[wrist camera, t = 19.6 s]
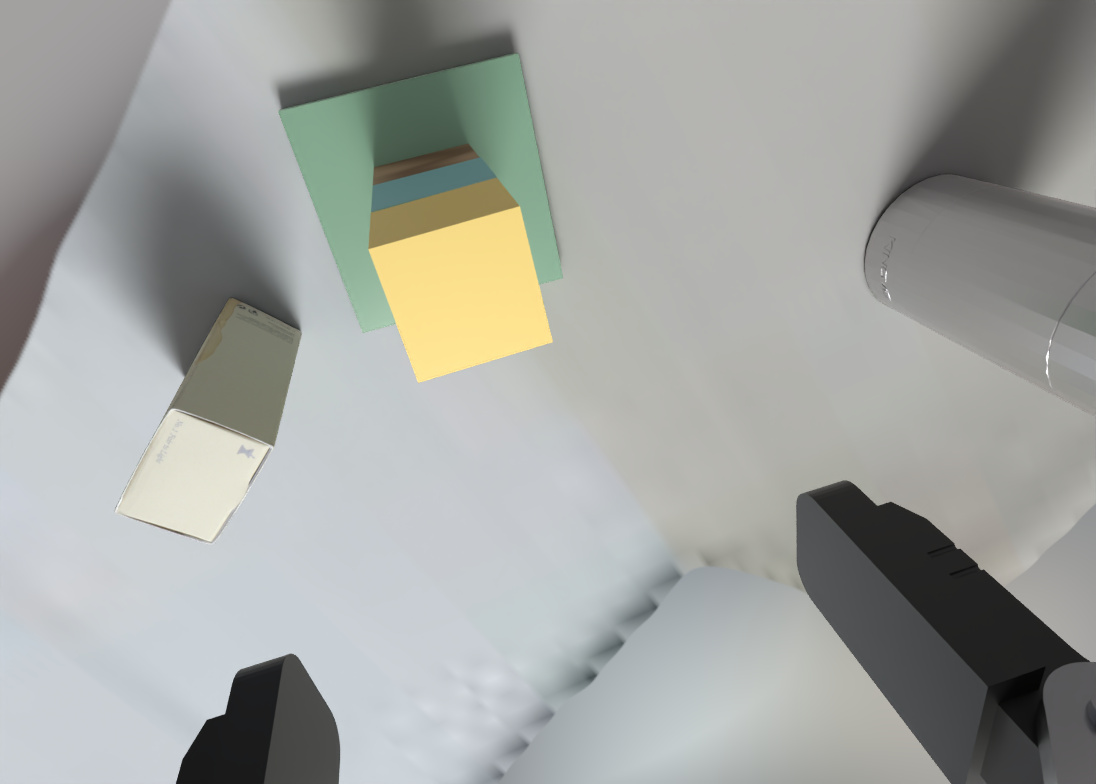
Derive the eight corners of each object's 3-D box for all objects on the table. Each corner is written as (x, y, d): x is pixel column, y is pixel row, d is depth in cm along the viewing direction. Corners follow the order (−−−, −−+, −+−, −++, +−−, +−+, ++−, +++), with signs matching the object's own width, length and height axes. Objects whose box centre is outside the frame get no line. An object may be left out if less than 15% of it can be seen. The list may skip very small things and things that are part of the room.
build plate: (514, 53, 34) (518, 53, 33) (558, 271, 40) (563, 277, 39) (281, 108, 32) (278, 111, 31) (363, 325, 39) (362, 332, 38)
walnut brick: (468, 143, 34) (480, 159, 30) (491, 236, 37) (506, 262, 32) (373, 167, 34) (372, 186, 29) (403, 259, 36) (406, 289, 32)
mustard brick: (496, 177, 25) (519, 206, 21) (526, 294, 28) (552, 342, 24) (370, 212, 25) (368, 249, 21) (412, 328, 28) (418, 382, 23)
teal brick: (481, 157, 30) (497, 177, 25) (506, 261, 32) (525, 295, 28) (372, 185, 29) (370, 211, 25) (407, 288, 32) (411, 328, 27)
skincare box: (230, 293, 36) (169, 398, 26) (307, 332, 38) (279, 444, 28) (181, 382, 38) (105, 514, 27) (257, 414, 40) (213, 549, 29)
